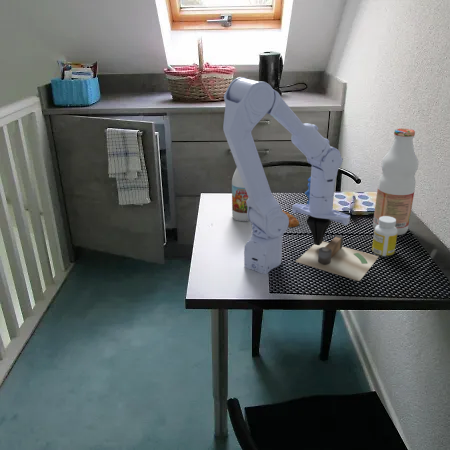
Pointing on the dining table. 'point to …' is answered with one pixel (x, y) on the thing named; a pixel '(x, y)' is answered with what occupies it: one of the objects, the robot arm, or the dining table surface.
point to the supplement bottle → (385, 236)
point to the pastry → (292, 220)
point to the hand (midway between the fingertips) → (318, 243)
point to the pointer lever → (330, 250)
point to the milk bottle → (239, 198)
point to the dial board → (340, 261)
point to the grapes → (308, 191)
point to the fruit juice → (397, 181)
